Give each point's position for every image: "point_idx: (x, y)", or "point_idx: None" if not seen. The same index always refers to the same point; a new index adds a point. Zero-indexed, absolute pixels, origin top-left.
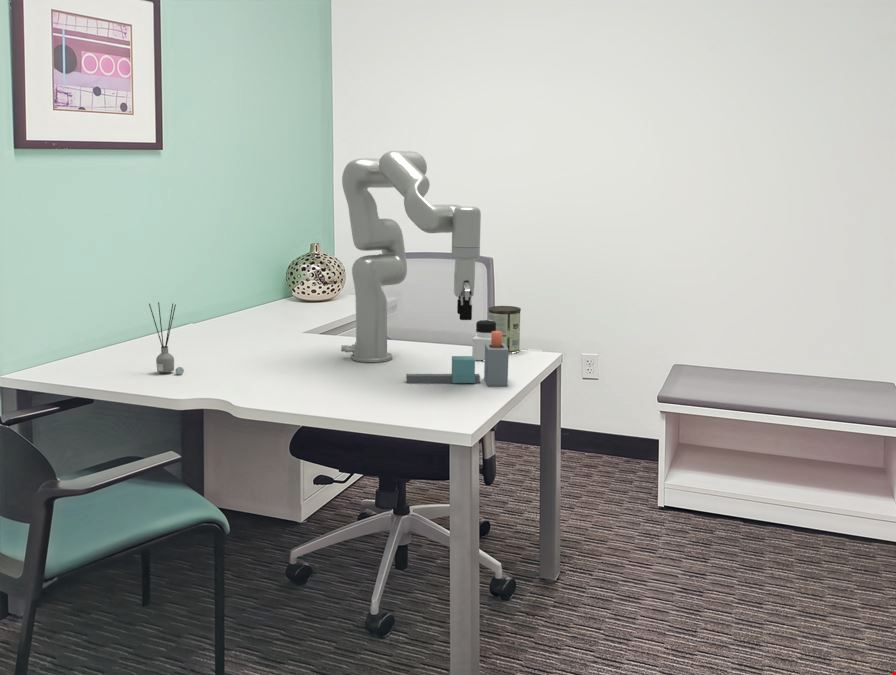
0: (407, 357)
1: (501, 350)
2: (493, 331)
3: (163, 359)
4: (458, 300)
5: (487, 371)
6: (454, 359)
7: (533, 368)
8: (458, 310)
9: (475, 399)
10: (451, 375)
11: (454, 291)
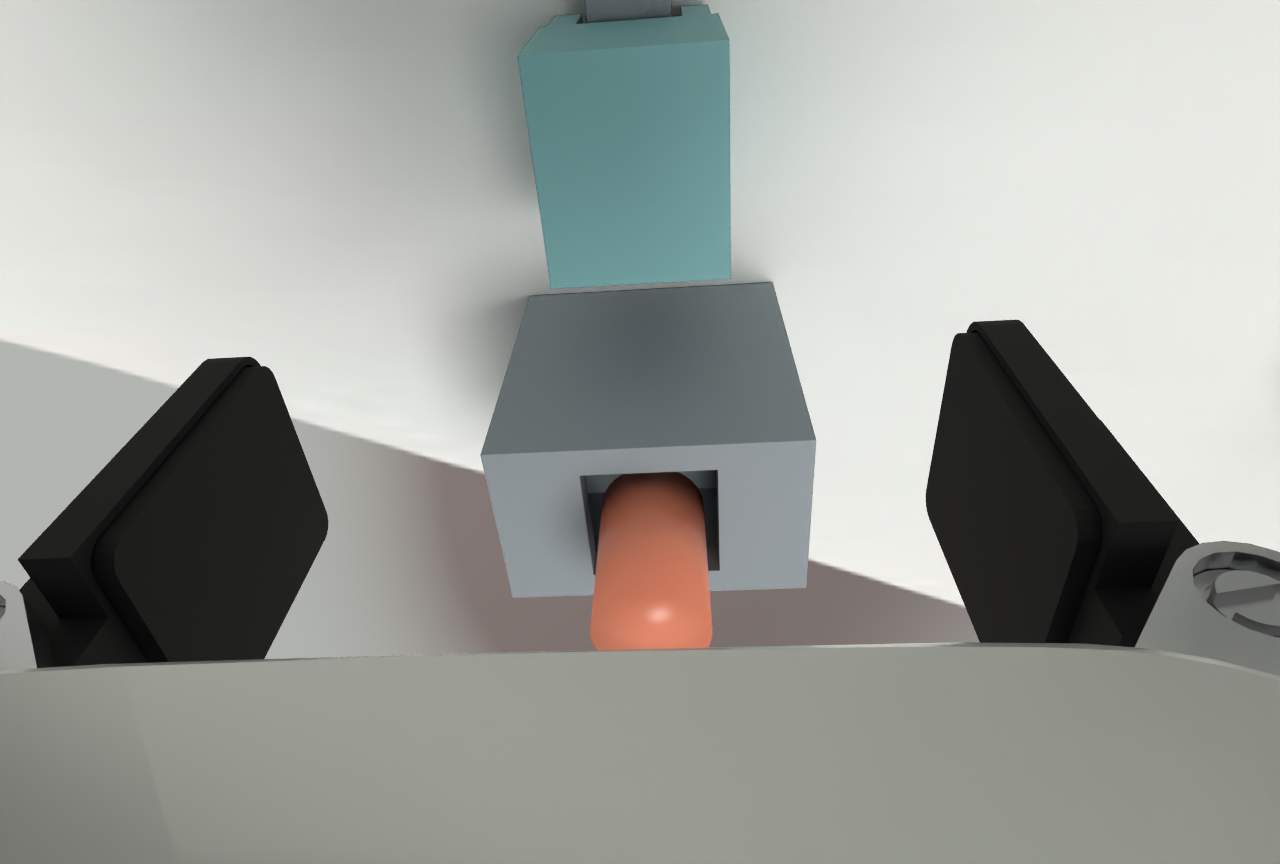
0: None
1: (502, 548)
2: (679, 608)
3: None
4: (1076, 524)
5: (521, 346)
6: (540, 75)
7: None
8: (972, 370)
9: (123, 204)
10: (606, 12)
11: (435, 763)
